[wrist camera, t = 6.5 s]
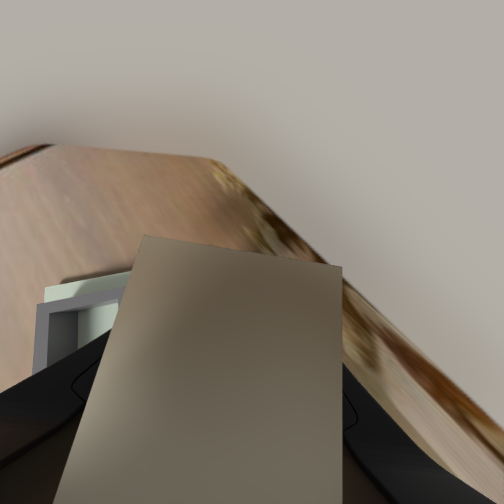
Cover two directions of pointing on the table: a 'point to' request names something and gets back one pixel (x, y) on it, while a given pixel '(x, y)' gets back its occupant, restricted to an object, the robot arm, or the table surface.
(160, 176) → the table surface
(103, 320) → the socket holder
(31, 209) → the table surface
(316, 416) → the plug block
